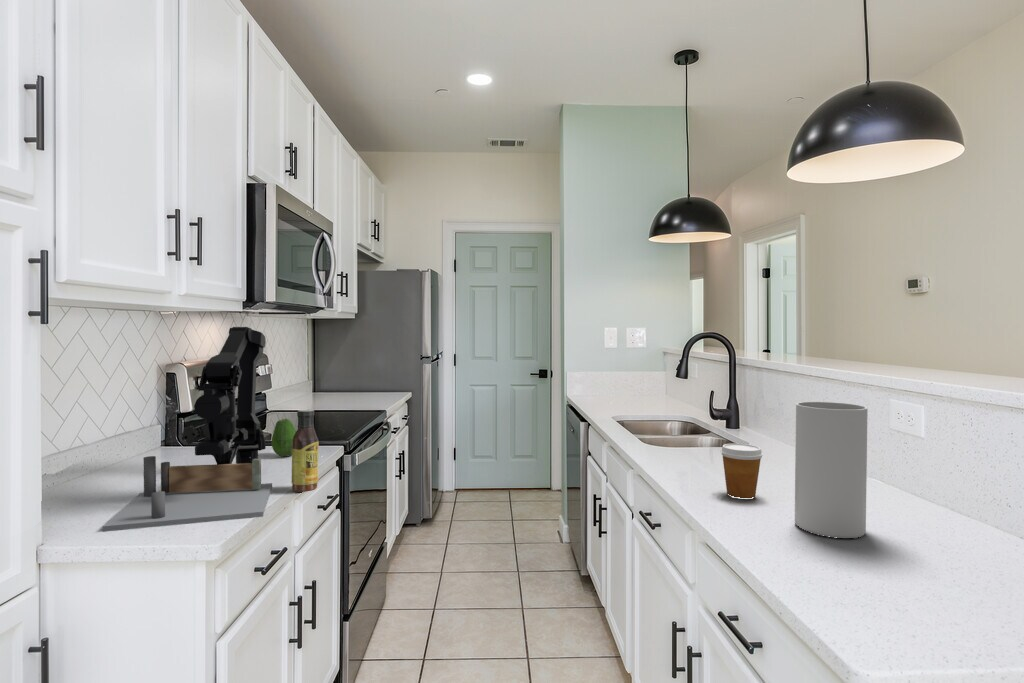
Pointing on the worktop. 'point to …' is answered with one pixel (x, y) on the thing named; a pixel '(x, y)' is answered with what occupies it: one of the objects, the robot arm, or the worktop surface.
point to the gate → (210, 477)
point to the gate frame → (186, 505)
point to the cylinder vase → (831, 468)
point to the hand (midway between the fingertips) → (223, 475)
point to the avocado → (283, 437)
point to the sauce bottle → (305, 453)
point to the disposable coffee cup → (741, 469)
